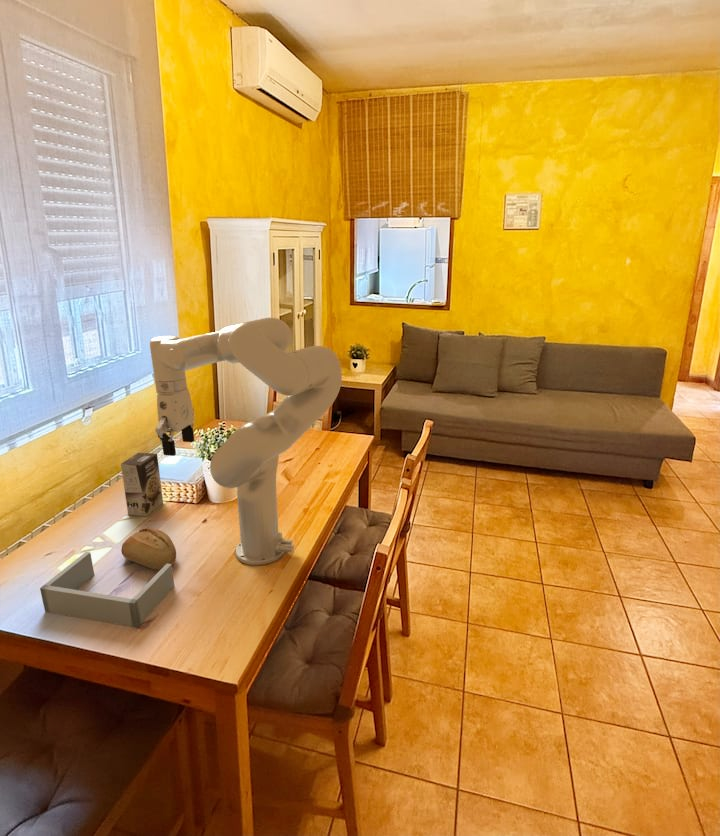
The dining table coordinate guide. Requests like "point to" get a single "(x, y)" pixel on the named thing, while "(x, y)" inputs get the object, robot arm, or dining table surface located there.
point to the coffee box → (142, 484)
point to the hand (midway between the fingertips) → (179, 448)
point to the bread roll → (150, 548)
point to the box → (102, 596)
